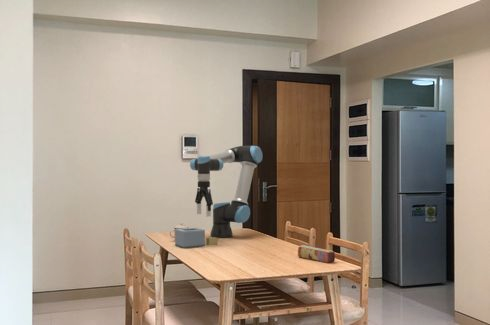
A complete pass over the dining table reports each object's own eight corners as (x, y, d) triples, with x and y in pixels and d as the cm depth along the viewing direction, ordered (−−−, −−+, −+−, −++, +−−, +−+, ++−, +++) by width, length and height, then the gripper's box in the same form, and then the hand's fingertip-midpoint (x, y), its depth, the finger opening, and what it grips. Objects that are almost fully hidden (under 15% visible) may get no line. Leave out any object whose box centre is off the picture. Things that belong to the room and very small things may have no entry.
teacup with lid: (187, 239, 334) (187, 222, 334) (189, 242, 325) (189, 223, 325) (168, 240, 331) (169, 222, 331) (170, 242, 322) (170, 224, 322)
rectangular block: (214, 244, 319) (214, 236, 319) (217, 244, 316) (217, 237, 316) (206, 244, 316) (206, 237, 316) (208, 245, 313) (208, 238, 313)
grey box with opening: (195, 243, 319) (195, 227, 319) (204, 246, 309) (204, 229, 309) (175, 245, 312) (175, 229, 312) (183, 248, 302) (183, 231, 301)
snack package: (336, 262, 264) (336, 249, 264) (327, 264, 260) (327, 250, 260) (304, 256, 280) (305, 244, 280) (296, 258, 276) (296, 245, 276)
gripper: (189, 180, 324) (189, 213, 325) (207, 181, 303) (207, 217, 303) (200, 179, 328) (200, 213, 328) (218, 181, 307) (218, 216, 307)
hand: (203, 215), depth 316 cm, fingers open, 13 cm apart
